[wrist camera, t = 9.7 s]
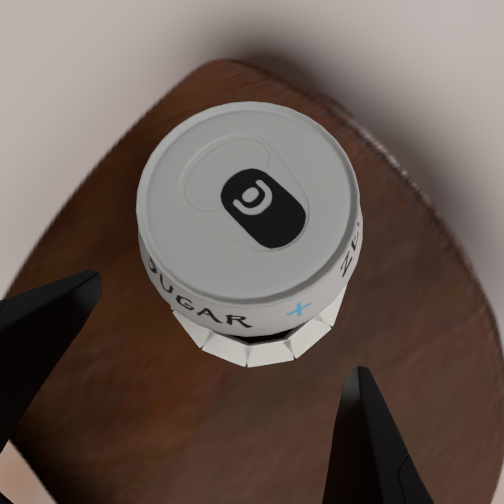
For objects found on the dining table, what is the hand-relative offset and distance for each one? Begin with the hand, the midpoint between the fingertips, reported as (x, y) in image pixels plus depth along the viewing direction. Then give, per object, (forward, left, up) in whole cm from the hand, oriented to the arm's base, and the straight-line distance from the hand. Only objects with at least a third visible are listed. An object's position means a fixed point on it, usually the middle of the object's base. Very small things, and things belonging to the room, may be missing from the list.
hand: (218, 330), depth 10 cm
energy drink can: (+1, +3, -11) cm, 12 cm away
